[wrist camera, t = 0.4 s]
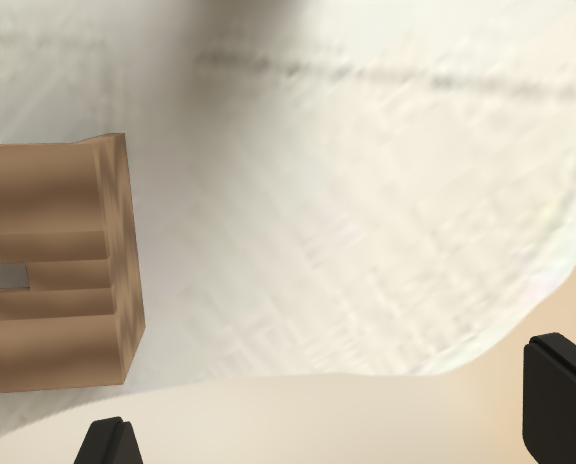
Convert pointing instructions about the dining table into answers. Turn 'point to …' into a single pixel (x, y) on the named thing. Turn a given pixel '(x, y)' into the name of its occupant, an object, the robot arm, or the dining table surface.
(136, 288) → the keyhole shelf
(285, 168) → the dining table surface
